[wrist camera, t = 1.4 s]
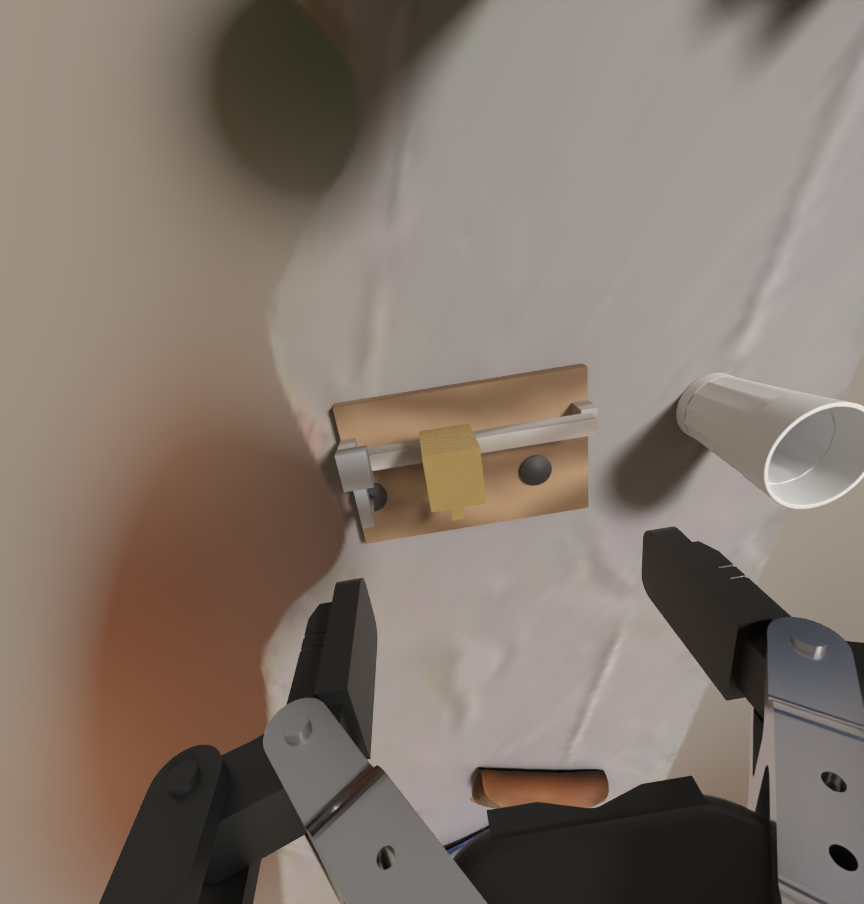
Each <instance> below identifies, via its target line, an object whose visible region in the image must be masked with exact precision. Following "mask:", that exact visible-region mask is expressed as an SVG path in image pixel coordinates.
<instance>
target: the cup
mask: <svg viewBox="0 0 864 904" xmlns="http://www.w3.org/2000/svg"><path fill="white" fill-rule="evenodd" d="M676 419H677V423H678V425H679V427H680V429H681V430H682V431H683V432H684V433H685V434H687V435H689V436H690V437H692V438H694V439H695V440H697V441H699V442H700V443H702V444H703V445H704V446H706V447H707V448H708V449H709V450H711V451H712V452H713V453H715V454H716V455H717V456H719V457H720V458H721V459H723V460H724V461H725V462H727V463H728V464H729V465H731V466H732V467H733V468H735V469H736V470H737V471H739V472H740V473H741V474H742V475H743V476H744V477H745V478H746V479H748V480H749V481H750V482H751V483H753V484H754V485H755V486H757V487H758V488H759V489H760V490H762V491H763V492H764V493H765V494H767V495H768V496H769V497H771V498H772V499H773V500H774V501H776V502H777V503H779V504H781V505H783V506H785V507H789V508H794V509H807V508H814V507H818V506H821V505H824V504H827V503H829V502H831V501H833V500H835V499H837V498H839V497H841V496H842V495H844V494H845V493H847V492H848V491H849V490H850V489H852V488H853V487H854V486H855V485H856V484H857V483H858V482H859V481H860V480H861V479H862V478H863V477H864V407H863V406H861V405H859V404H856V403H851V402H846V401H842V400H837V399H832V398H827V397H822V396H818V395H813V394H807V393H802V392H798V391H793V390H789V389H784V388H780V387H776V386H771V385H767V384H762V383H758V382H754V381H749V380H745V379H740V378H737V377H734V376H731V375H728V374H724V373H713V374H708V375H705V376H703V377H701V378H699V379H697V380H696V381H694V382H693V383H692V384H691V385H690V386H689V387H688V388H687V389H686V390H685V391H684V393H683V394H682V396H681V398H680V400H679V402H678V405H677V409H676Z"/></svg>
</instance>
